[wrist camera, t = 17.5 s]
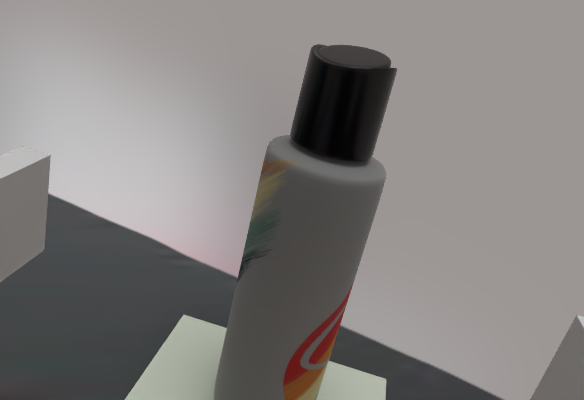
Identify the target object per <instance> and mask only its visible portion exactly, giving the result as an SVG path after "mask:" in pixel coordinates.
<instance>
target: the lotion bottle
mask: <svg viewBox="0 0 584 400" xmlns="http://www.w3.org/2000/svg"><path fill="white" fill-rule="evenodd" d="M390 66H391V60H390V59H389V58H388V57H387V56H386V55H384V54H383V53H380V52H378V51H375V50H372V49H368V48H364V47H358V46H351V45H331V46H325V45H314V46H313V47H312V48H311V51H310V55H309V59H308V63H307V67H306V71H305V75H304V79H303V83H302V87H301V91H300V96H299V100H298V104H297V108H296V112H295V116H294V120H293V125H292V129H291V134H290V135H286V136H280V137H277V138H274V139H273V140H272V141H271V142H270V143H269V145H268V147H267V151H266V154H265V158H264V163H263V167H262V171H261V176H260V180H259V185H258V190H257V194H256V198H255V203H254V207H253V212H252V216H251V221H250V225H249V230H248V235H247V239H246V244H245V248H244V253H243V257H242V262H241V266H240V271H239V275H238V280H237V284H236V289H235V294H234V298H233V303H232V307H231V312H230V316H229V321H228V325H227V330H226V335H225V339H224V344H223V348H222V353H221V357H220V362H219V367H218V372H217V376H216V382H215V389H214V400H316V399H317V396H318V393H319V389H320V386H321V383H322V380H323V377H324V374H325V371H326V367H327V364H328V361H329V358H330V355H331V352H332V349H333V345H334V342H335V339H336V336H337V333H338V330H339V326H340V323H341V320H342V317H343V313H344V310H345V308H346V304H347V301H348V298H349V294H350V291H351V289H352V285H353V282H354V279H355V276H356V273H357V270H358V267H359V263H360V260H361V257H362V254H363V251H364V248H365V244H366V241H367V238H368V235H369V232H370V229H371V225H372V222H373V219H374V216H375V213H376V210H377V206H378V203H379V200H380V196H381V193H382V190H383V186H384V182H385V179H386V171H385V169H384V167H383V165H382V164H381V163H380V162H379V161H377V160H376V159H375V158H373V157H372V155H373V152H374V148H375V145H376V141H377V138H378V134H379V131H380V128H381V124H382V121H383V117H384V113H385V110H386V107H387V103H388V100H389V96H390V93H391V90H392V86H393V83H394V79H395V76H396V72H397V69H396V68H390Z"/></svg>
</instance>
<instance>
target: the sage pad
mask: <svg viewBox="0 0 584 400" xmlns="http://www.w3.org/2000/svg"><path fill="white" fill-rule="evenodd" d="M226 330H227V328H224V327H221V326H218V325H215V324H211V323H208V322H205V321H202V320H199V319H196V318H193V317H190V316H186V315H183V317H182V318H181V319H180V321H179V322H178V324H177V325H176V327H175V328H174V330H173V331H172V332H171V334H170V335H169V337H168V338H167V340H166V341H165V343H164V344H163V345H162V347H161V348H160V350H159V351H158V353H157V354H156V356H155V357H154V358H153V360H152V361H151V363H150V364H149V366H148V367H147V368H146V370H145V371H144V373H143V374H142V376H141V377H140V379H139V380H138V381H137V383H136V384H135V386H134V387H133V389H132V390H131V392H130V393H129V394H128V396H127V397H126V399H125V400H214V389H215V382H216V376H217V372H218V367H219V362H220V357H221V353H222V348H223V344H224V339H225V335H226ZM385 396H386V379H384V378H381V377H378V376H374V375H371V374H368V373H365V372H362V371H359V370H356V369H352V368H349V367H346V366H343V365H340V364H337V363H334V362H331V361H328V364H327V367H326V371H325V374H324V377H323V380H322V383H321V386H320V389H319V393H318V396H317V399H316V400H385Z"/></svg>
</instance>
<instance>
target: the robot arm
mask: <svg viewBox="0 0 584 400" xmlns="http://www.w3.org/2000/svg"><path fill="white" fill-rule="evenodd" d="M50 156H51V155H48V154H45V153H42V152H38V151H35V150H32V149H29V148H26V147H20V148H17V149H15V150H12V151H10V152H8V153H5V154H3V155H0V282H1V281H2V280H4V279H5V278H7V277H8V276H9V275H11V274H12V273H13V272H15V271H16V270H17V269H19V268H20V267H22V266H23V265H24V264H26V263H27V262H28V261H30V260H31V259H32V258H34V257H35V256H37V255H38V254H39V253H41V252H42V251H43V250H44V244H45V230H46V215H47V200H48V185H49V170H50ZM530 400H584V317H581V316H578V315H576V317H575V319H574V321H573V323H572V324H571V327H570V328H569V330H568V332H567V334H566V336H565V337H564V339H563V341H562V343H561V345H560V346H559V348H558V350H557V352H556V354H555V356H554V358H553V359H552V361H551V363H550V365H549V367H548V368H547V370H546V372H545V374H544V376H543V378H542V379H541V381H540V383H539V385H538V387H537V388H536V390H535V392H534V394H533V396H532V398H531V399H530Z"/></svg>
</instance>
